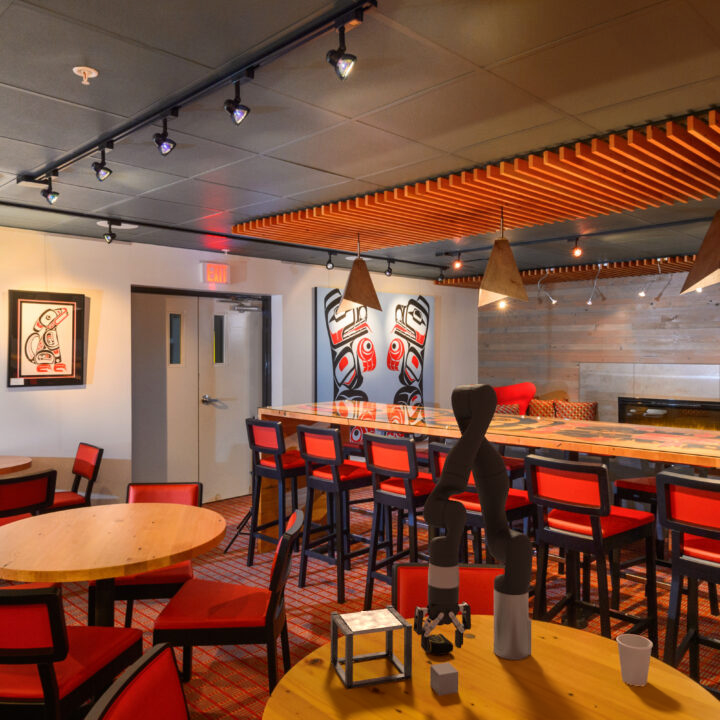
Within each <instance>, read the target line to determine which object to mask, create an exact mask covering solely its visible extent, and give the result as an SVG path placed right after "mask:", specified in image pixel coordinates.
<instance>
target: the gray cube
mask: <svg viewBox="0 0 720 720" xmlns="http://www.w3.org/2000/svg"><path fill="white" fill-rule="evenodd" d="M429 667H430V670H429V671H430V672H429V673H430V674H429V675H430V682H429V683H430V687H431V688H432V690H433V691H434V692H435V693H436V694H437V695H438V696H440V697H441V696H445V695H450V694H456V693H459V670H457V669H456V668H455V667H454V666H453V665H452V663H450V662H444V663H437V664H430V665H429Z"/></svg>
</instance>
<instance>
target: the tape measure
mask: <svg viewBox="0 0 720 720" xmlns="http://www.w3.org/2000/svg"><path fill="white" fill-rule="evenodd" d="M453 651H454V644H453V642H451V641H450V640H449V639H448V638H447V637H446V636H445V635H444V634H442V633H438V634H429V652H428V653H430V654H433V655H437V656H438V655H439V656H441V655H442V656H443V655H445V654H448V653H451V652H453Z"/></svg>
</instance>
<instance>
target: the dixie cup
mask: <svg viewBox="0 0 720 720" xmlns="http://www.w3.org/2000/svg"><path fill="white" fill-rule="evenodd" d="M616 642H617V649H618V656H619V665H620V674H621V680H622V679H623V680H622V682H623V683H625V682H626V683H628V684H627V685H629V684H631V685H636V686H637V685H638V686H642V685H645V684H646V683H647V684H648V676H649V671H650V670H649V669H650V663H651V655H652V648H653V647H654V644H653V642H652V641H651V640H650V639H648V638H646V637H645V636H642V635H638V634H631V633H621V634H619V635H617V637H616ZM626 683H625V684H626ZM647 684H646V685H647ZM631 685H630V686H631ZM646 685H645V686H646ZM636 686H635V687H636ZM642 687H643V686H642Z"/></svg>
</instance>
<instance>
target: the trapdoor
mask: <svg viewBox="0 0 720 720" xmlns="http://www.w3.org/2000/svg"><path fill="white" fill-rule="evenodd" d="M338 615H339V616H340V618H341V619H342V620H343V622H344V623H345V624H346V625H347V627H348V628H349V629H350V631H352V633H353V636H358V635H359V636H360V635H366V634H373V633H381V632H386V631H390V630H393V631H395V630H396V631H397V630H404V628H403V625H402V624H401V623H400V622H399V621H398V620H397V619H396V618H395V617H394V615H393V614H392V613H391V612H390V611H389V610H388V609H386V608H381V609H372V610H371V609H370V610H365V611H356V612H348V613H338Z"/></svg>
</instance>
